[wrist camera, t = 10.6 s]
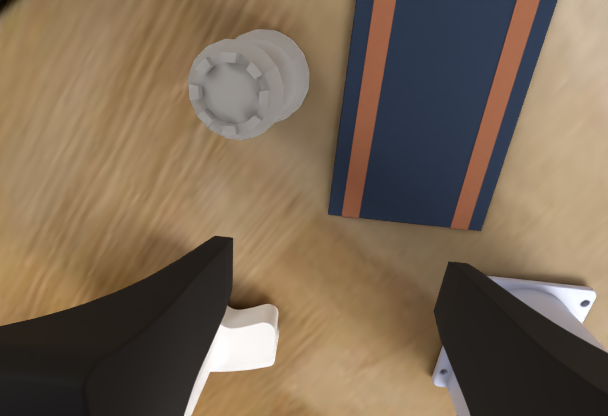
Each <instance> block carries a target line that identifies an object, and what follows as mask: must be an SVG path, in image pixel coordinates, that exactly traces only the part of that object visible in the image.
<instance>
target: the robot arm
mask: <svg viewBox="0 0 608 416" xmlns="http://www.w3.org/2000/svg"><path fill="white" fill-rule="evenodd" d="M232 280H233V238H230V237H221V236H214V237H212V238H211V239H209V240H208V241H206V242H204V243H203V244H202V245H200V246H199V247H197V248H196V249H194V250H193V251H191V252H189V253H188V254H186V255H185V256H183V257H182V258H180V259H179V260H177V261H175V262H174V263H172V264H170V265H169V266H167V267H165V268H163V269H162V270H160V271H158V272H156V273H155V274H153V275H151V276H149V277H147V278H145V279H143V280H141V281H139V282H137V283H135V284H133V285H131V286H128V287H126V288H124V289H122V290H119V291H117V292H115V293H112V294H109V295H107V296H104V297H101V298H99V299H96V300H93V301H91V302H88V303H85V304H82V305H79V306H76V307H73V308H70V309H67V310H63V311H60V312H56V313H53V314H49V315H46V316H42V317H38V318H34V319H30V320H26V321H21V322H17V323H12V324H8V325H4V326H0V416H184V414H185V411H186V408H187V405H188V402H189V399H190V396H191V393H192V390H193V387H194V384H195V381H196V379H197V376H198V374H199V371H200V369H201V367H202V364H203V362H204V360H205V358H206V355H207V353H208V351H209V349H210V346H211V344H212V342H213V340H214V338H215V335H216V333H217V331H218V329H219V326H220V324H221V322H222V319H223V317H224V315H225V312H226V309H227V305H228V302H229V298H230V295H231V291H232ZM596 295H597V294H596V292H595V291H594V290H593V289H592V288H590V287H585V286H576V285H567V284H558V283H549V282H540V281H531V280H522V279H513V278H504V277H494V276H486V275H484V274H483V273H482V272H480V271H479V270H477V269H476V268H474V267H473V266H471V265H469V264H467V263H459V262H448V265H447V269H446V272H445V275H444V278H443V282H442V285H441V288H440V292H439V295H438V298H437V302H436V305H435V308H434V314H435V318H436V323H437V327H438V331H439V335H440V339H441V341H442V344H443V346H442V349H441V352H440V355H439V358H438V361H437V364H436V367H435V370H434V373H433V376H432V381H433V383H434V385H436V386H439V387H447V389H448V392H449V395H450V397H451V400H452V403H453V406H454V409H455V411H456V414H457V416H608V351H607V350H606V349H605V348H604V347H603V346H602V345H601V344H600V343H599V341H598V340H597V339H596V338H595V337H594V336H593V335H592V334H591V333H590V332H589V331H588V330H587V329H586V328H585V326H584V325H583V324H582V323H583V321H584V319H585V317H586V315H587V313H588V311H589V310H590V308H591V306H592V304H593V302H594V300H595V298H596ZM582 301H583V302H582ZM442 369H444V370H442Z"/></svg>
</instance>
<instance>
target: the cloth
mask: <svg viewBox="0 0 608 416" xmlns="http://www.w3.org/2000/svg"><path fill="white" fill-rule="evenodd" d="M556 3H557V0H356V6H355V14H354V21H353V29H352V36H351V44H350V51H349V59H348V67H347V74H346V82H345V89H344V97H343V104H342V112H341V119H340V127H339V135H338V142H337V150H336V157H335V165H334V172H333V180H332V187H331V195H330V203H329V210H328V214H329V215H338V216H343V217H352V218H366V219H375V220H384V221H393V222H403V223H412V224H421V225H430V226H440V227H449V228H454V229H463V230H477V231H481V229H482V226H483V223H484V220H485V217H486V214H487V211H488V208H489V205H490V202H491V199H492V196H493V193H494V190H495V187H496V184H497V181H498V178H499V175H500V171H501V168H502V165H503V162H504V159H505V156H506V153H507V150H508V147H509V144H510V141H511V138H512V135H513V132H514V129H515V126H516V123H517V120H518V117H519V114H520V111H521V108H522V105H523V102H524V99H525V96H526V93H527V90H528V87H529V84H530V81H531V78H532V75H533V72H534V69H535V66H536V63H537V60H538V57H539V54H540V51H541V48H542V45H543V42H544V39H545V36H546V33H547V30H548V27H549V24H550V21H551V18H552V15H553V12H554V9H555V6H556Z"/></svg>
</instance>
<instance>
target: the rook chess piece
mask: <svg viewBox="0 0 608 416" xmlns="http://www.w3.org/2000/svg"><path fill="white" fill-rule="evenodd" d="M309 74H310V72H309V69H308V65H307V62H306V59H305V55H304V53H303V52H302V51H301V50H300V48H299V47H298V46H297V45H296V43H295V42H294V41H293V40H292V39H291V38H289V37H287V36H285V35H284V34H282V33H280V32H278V31H276V30H266V29H256V30H253V31H250V32H247V33H245V34H242V35H239V36H238V37H237V38H236V39H223V40H221V41H218V42H216V43H213V44H210V45H208V46H207V47H206V48H205V49H204V50H203V51H202V52H201V53H200V54H199V55H198V56H197V57H196V58H195V59H194V62H193V65H192V68H191V71H190V74H189V77H188V87H189V99H190V101H191V103H192V106H193V108H194V110H195V113H196V115H197V117H198V118H199V119H200V120H201V121H202V122H203V123H204V124H205V125H206V126H207V127H208V128H209V129H210V130H211V131H213V132H215V133H217V134H219V135H221V136H223V137H225V138H227V139H238V140H247V139H250V138H253V137H256V136H259V135H262V134H263V133H264V132H265V131H266V130H267V129H269V128H270V127H271V126H272V125H273V124H274V123H276V122H279V121H282V120H285V119H287V118H288V117H289V116H290V115H291V114H293V113H294V112H295V111H296V110H297V109H298V108H299V107H300V106H301V105H302V103H303V100H304V98H305V96H306V94H307V92H308V88H309Z"/></svg>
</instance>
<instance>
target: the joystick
mask: <svg viewBox="0 0 608 416" xmlns="http://www.w3.org/2000/svg"><path fill="white" fill-rule="evenodd" d="M277 322H278V309H277V308H276V307H275V306H274V305H271V304H264V305H260V306H257V307H253V308H248V309H242V310H235V309H232V308H230V307H229V306H228V305H227V309H226V312H225V315H224V317H223V319H222V322H221V324H220V326H219V329H218V331H217V333H216V335H215V338H214V340H213V342H212V344H211V346H210V349H209V351H208V353H207V355H206V358H205V360H204V362H203V364H202V367H201V369H200V371H199V374H198V376H197V379H196V381H195V384H194V387H193V390H192V393H191V396H190V399H189V402H188V405H187V408H186V411H185V414H184V416H191V414H192V412H193V410H194V408H195V405H196V403H197V401H198V398H199V396H200V394H201V391H202V389H203V387H204V385H205V382H206V380H207V378H208V375H209V373H210V372H224V371H240V370H249V369H257V368H263V367H268V366H271V365H272V364H273V363H274V361H275V356H276V350H277V344H278V338H279V327H277Z"/></svg>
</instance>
